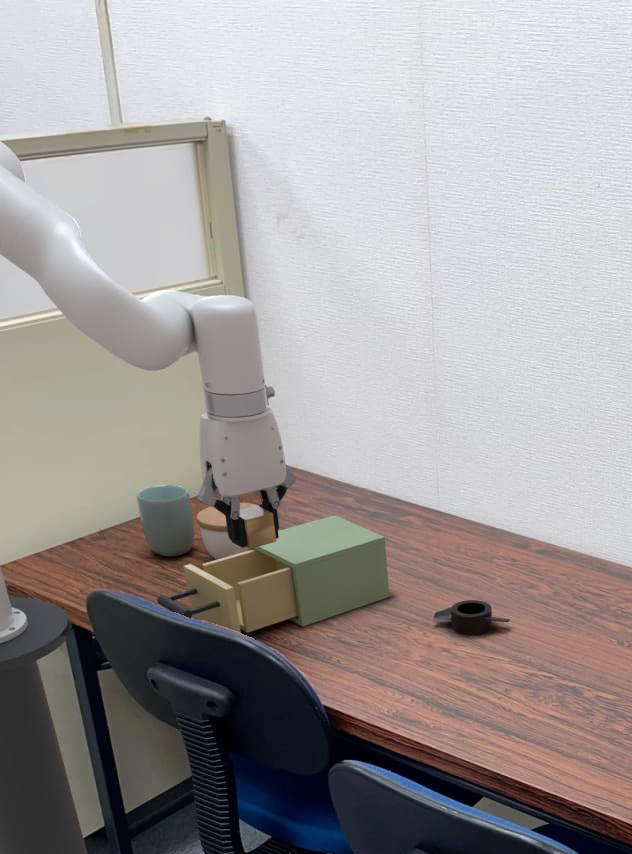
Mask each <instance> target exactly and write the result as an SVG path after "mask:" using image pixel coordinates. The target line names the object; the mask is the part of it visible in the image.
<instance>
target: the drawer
mask: <svg viewBox="0 0 632 854" xmlns="http://www.w3.org/2000/svg"><path fill="white" fill-rule="evenodd" d="M201 566H202V569H201V568H199V567H198V566H196V565H194V564H192V563H188V564H186V565H183V566H182V567H183V572H184V579H185V583H186V584H185V585H186V589H187V590H185V591H181V592H178V593H175V594H171V595H168V596H167V595H165V594H161V595H159V596H157V599H156V601H157V604H158V605H160V606H161V607H163V608H165V609H166V610H168V611H170V612H171V613H173V612H176V613H179V614H181V615H184V616H186V617H189V618H190V619H192V618H194V619H196V618H197V619H200V620H205V621H208V622H211V623H214V624H218V625H220V626H224V627H227V628H229V629H232V630H235V631H238V632H240V633H241V634H242V632H241V630H242V631H243V632H245V633H247V634H248V633H251V632H253V631H257V630H260V629H263V628H265V627H269V626H272V625H274V624H277V623H281V622H284V621H287V620H289V619H290V618H293V617H296V616H298V609H297V601H296V593H295V585H294V577H293V569H292V567H290V566H288V565H286V564H284V563H282V562H280V561H278V560H276V559H274V558H272V557H270V556H268V555H266V554H264V553H262V552H260V551H258V550H256V549H253V550H249V551H246V552H242V553H239V554H235V555H232V556H228V557H225V558H221V559H218V560H216V559H214V560H211V561H208V562H204V563H202V564H201ZM186 597H188V601H189V606H190V609H188V608H187V607H185V606H183V605H182V604H180V603H178V602H177V600H181V599H184V598H186ZM197 619H196V620H197Z"/></svg>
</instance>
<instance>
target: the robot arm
mask: <svg viewBox="0 0 632 854" xmlns="http://www.w3.org/2000/svg"><path fill="white" fill-rule="evenodd" d="M26 177H27V176H26V173H25V169H24V167H23V164H22V163H21V160H20V159H19V157H18V156H17V155H16V154H15V152H14V151H13V150H12V149H11V148H10V147H9V146H8V145H6V144H5V143H4V142H3V141H0V255H1V256H2V257H3V258H5V259H6V260H7V261H9V262H10V263H11V264H13V265H14V266H16V267H17V268H18V269H20V270H22V271H23V272H25V273H26V274H27V275H28V276H30V277H31V278H32V279H33V280H35V281H36V282H37V284H39V286H40V287H41V289H42V290H43V292H44V293H45V295H46V296H47V298H49V300H50V301H51V302H52V303H53V305H55V306H56V308H57V309H58V310H59V311H60V312H61V314H62V316H64V317H65V318H66V319H67V320H68V321H69V322H70V323H71V324H72V325H73V326H74V327H75V328H76V329H77V330H79V331H80V332H81V333H83V334H84V335H86V337H88V338H89V339H90V340H92V341H94V342H95V343H97V344H98V345H100V346H101V347H102V348H103V349H105V350H106V351H108V352H109V353H111V354H113V355H114V356H115V357H117V358H118V359H120V360H122V361H124V362H125V363H127V364H129V365H130V366H133V367H136V368H138V369H141V370H145V371H154V372H155V371H160V370H165V369H166V368H169V367H170V366H172V365H173V364H174V363H176V362H177V361H178V360H180V359H181V358H182V357H184V356H187V355H189V354H192V353H197V356H198V363H199V368H200V377H201V381H202V383H201V384H202V389H203V395H204V402H205V407H206V408H205V409H206V413H204V414H201V415H200V424H199V457H200V469H201V477H202V484H201V487H200V489H199V491H198V494H197V497H196V498H197V500H198V501H199V502H201V503H202V504H204V505H207V506H208V507H214V508H215V509H217V510H218V511H220V512H221V513H222V514H224V515H225V517H226V524H227V531H228V536H229V539H230V540H231V541H232V543H234V544H236V545H238V546H240V547H242V548H244V547H247V538H246V531H245V524H244V519H243V518H241V517H240V503H241V496H243V495H247V494H251V493H256V492H258V495H259V498H260V500H261V504H259V507H261V508H263V509H265V510H267V511H269V512H271V513H273V519H274V527H275V535H276V539H277V538H279V536H278V531H279V529H280V524H279V523H280V521H279V516H278V510H279V509H280V507H281V501H282V500H283V498H284V496H285V495H286V493H287V490H289V489H290V488H291V487H292V486H293V484H294V483H295V482H296V481H297V476H296V475H295V474H294V472H293V470H291V469H290V467H289V466H288V465H287V463H286V458H285V451H284V447H283V442H282V441H283V440H282V438H281V433H280V429H279V426H278V423H277V420H276V416H275V413H274V412H273V409H272V408H270V407H269V406H270V405H269V403H270V402H269V400H270V398H274V397H275V396H276V392H275V389H274V387H273V386H272V385H269V386H267V385H266V380H265V372H264V363H263V354H262V346H261V345H262V344H261V338H260V330H259V321H258V313H257V309H256V306H255V305H254V303H253V301H251V300H250V299H248V298H246V297H243V296H239V295H229V294H227V295H226V294H221V295H209V296H206V295H199V294H194V293H189V292H185V291H184V292H183V291H179V290H171V289H165V290H158V291H154V292H153V293H151V294H149V295H147V296H145V297H143V298H142V299H140V298H139V297H137V296H135V295H134V293H132V292H130V291H128V290H127V289H126V288H124V287H123V286H122V285H120V284H119V283H118V282H116V280H114V279H113V278H111V277H110V276H109V275H108V274H107V273H106V272H104V271H103V270H102V269H101V268H100V267H99V266H98V264H97V263H96V262H95V261H94V260H93V258H92V257H91V256H90V254H89V253H88V250H87V249H86V246H85V244H84V240H83V237H82V232H81V228H80V226H79V224H78V222H77V220H76V219H75V218H74V217H73V216H72V215H71V214H69V213H68V212H66V211H65V210H63V209H62V207H61V208H60V207H59V206H57V205H56V203H54V202H53V201H51V200H50V199H48V198H46V197H45V196H44V195H42V194H41V193H39V192H38V191H37V190H36V189H34V188H33V187H32V186H30V185H28V184H27V178H26ZM215 491H218V494H219V495H220V499H219V498H218V497H215V496H214V495H215ZM9 597H10V596H9V592H8V589H7V585H6V582H5V577H4V573H3V571H2V566H1V565H0V644H1V643H4V642H7V641H9V640H11V639H13V638H15V637H17V636H19V635H20V634H21V633H22V632H23V631H24V630H25V629H26V628H27V626H28V621H27V617H26V615H25V614H24V612H22V611H20V610H19V609H16V608H13V607H11V604H10V600H9Z"/></svg>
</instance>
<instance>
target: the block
mask: <svg viewBox="0 0 632 854" xmlns="http://www.w3.org/2000/svg"><path fill="white" fill-rule="evenodd" d="M257 505H258V504H256V506H252V507H248V508H244V509H240V517H241V518H243V519H244V524H245V531H246V538H247V548H249V549H252V548H255V547H259V546H263V545H266V544H270V543H273V542H276V535H275V527H274V519H273V513H271V512H269V511H267V510H265V509H263V508H261V507H259V506H257Z"/></svg>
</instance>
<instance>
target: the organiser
mask: <svg viewBox="0 0 632 854" xmlns="http://www.w3.org/2000/svg"><path fill="white" fill-rule="evenodd" d="M278 536H279V538H277V539H276V542H273V543H270V544H266V545H263V546H259V547H255V548H252V549H249V548H247V549H248V551H249V550H253V549H256V550H258V551H260V552H262V553H264V554H266V555H268V556H270V557H272V558H274V559H276V560H278V561H280V562H282V563H284V564H286V565H288V566H290V567H292V569H293V577H294V585H295V593H296V601H297V609H298V616H296V617H293V618H290V619H288V620H289V621H292V622H293V623H295V624H297V625H299V626H300V627H303V628H304V627H305V626H308V625H311V624H315V623H317V622H321V621H323V620H327V619H329V618H332V617H336V616H338V615H340V614H343V613H346V612H347V613H348V612H349V611H353V610H355V609H358V608H361V607H364V606H367V605H370V604H372V603H373V604H374V603H375V602H379V601H381V600H384V599H387V598H390V586H389V575H388V562H387V561H388V560H387V549H386V537H385V536H384V535H381V534H379V533H376V532H375V531H372V530H370V529H368V528H365V527H363V526H361V525H358V524H357V523H354V522H352V521H349V520H347V519H344V518H343V517H340V516H338V515H336V514H334V515H331V516H327V517H322V518H319V519H316V520H312V521H309V522H305V523H302V524H298V525H295V526H291V527H288V528H284V529H280V530H278Z"/></svg>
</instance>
